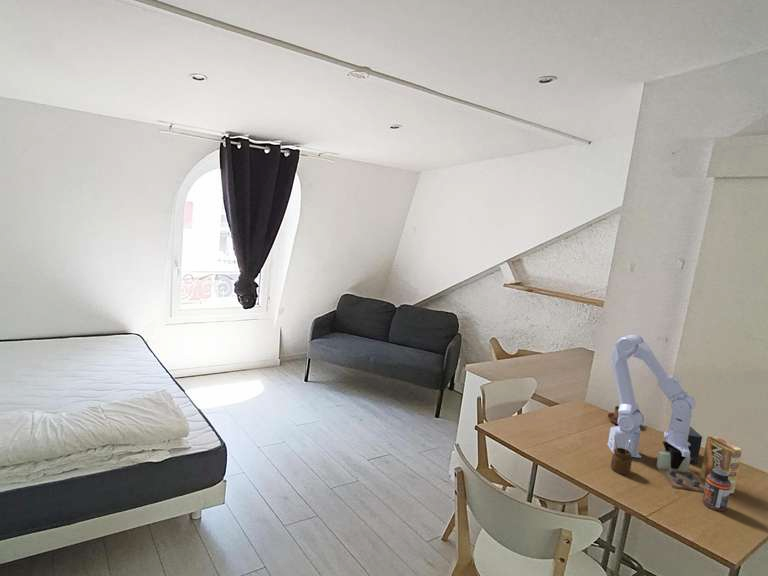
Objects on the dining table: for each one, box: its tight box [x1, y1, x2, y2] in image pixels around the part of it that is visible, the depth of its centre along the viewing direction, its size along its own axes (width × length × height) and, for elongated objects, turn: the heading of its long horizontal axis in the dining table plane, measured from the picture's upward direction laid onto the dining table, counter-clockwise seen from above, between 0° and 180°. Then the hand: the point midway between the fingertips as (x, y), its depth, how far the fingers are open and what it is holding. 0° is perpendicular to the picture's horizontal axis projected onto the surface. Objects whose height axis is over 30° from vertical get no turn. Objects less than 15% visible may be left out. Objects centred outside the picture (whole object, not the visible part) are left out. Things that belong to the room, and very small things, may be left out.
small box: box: [687, 425, 703, 464], centre depth 162 cm, size 11×6×10 cm, turn 168°
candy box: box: [699, 436, 743, 495], centre depth 142 cm, size 9×4×15 cm, turn 13°
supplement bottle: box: [702, 468, 731, 512], centre depth 132 cm, size 6×6×11 cm
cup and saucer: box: [607, 405, 620, 425], centre depth 188 cm, size 12×12×6 cm
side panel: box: [658, 468, 706, 493], centre depth 145 cm, size 12×10×3 cm
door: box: [656, 449, 691, 472], centre depth 151 cm, size 9×2×6 cm, turn 79°
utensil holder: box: [610, 435, 634, 475], centre depth 148 cm, size 6×6×12 cm
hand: (672, 465), depth 152 cm, fingers closed on door, 2 cm apart
